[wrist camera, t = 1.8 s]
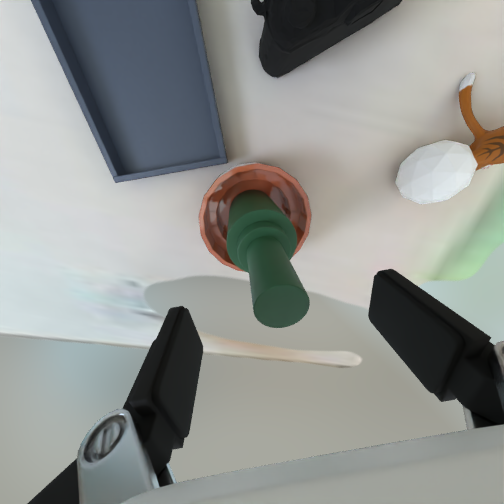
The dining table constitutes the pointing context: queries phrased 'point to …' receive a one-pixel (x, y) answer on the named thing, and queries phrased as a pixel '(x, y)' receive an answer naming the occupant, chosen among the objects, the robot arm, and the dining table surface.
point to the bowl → (251, 178)
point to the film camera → (310, 28)
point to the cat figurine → (450, 158)
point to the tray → (139, 81)
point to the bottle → (266, 258)
